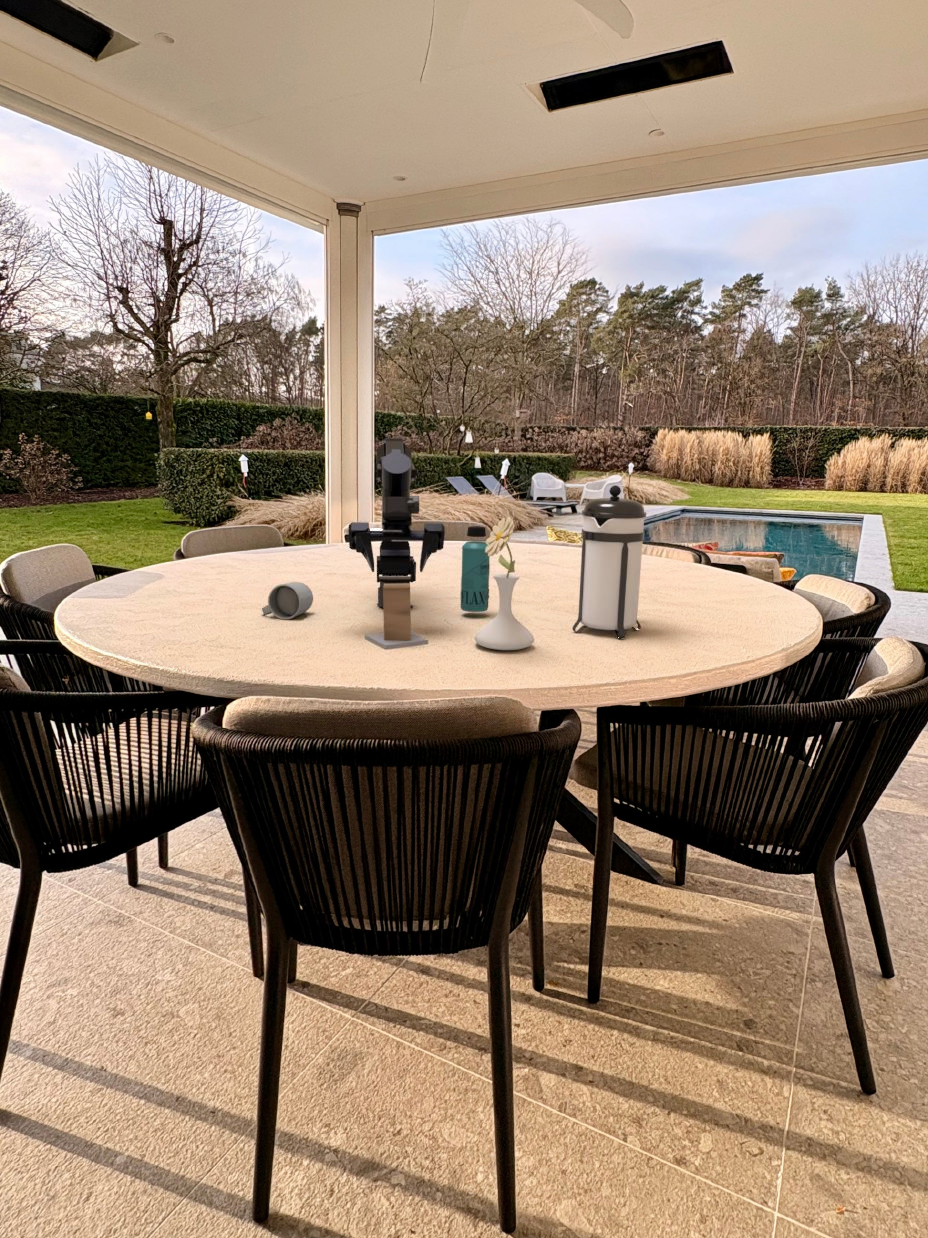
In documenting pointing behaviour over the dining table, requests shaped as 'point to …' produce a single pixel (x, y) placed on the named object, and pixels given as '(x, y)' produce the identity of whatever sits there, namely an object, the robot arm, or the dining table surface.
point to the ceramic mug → (289, 600)
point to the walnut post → (397, 611)
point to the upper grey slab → (395, 641)
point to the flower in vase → (503, 599)
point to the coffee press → (610, 563)
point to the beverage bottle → (475, 573)
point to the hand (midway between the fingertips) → (397, 570)
